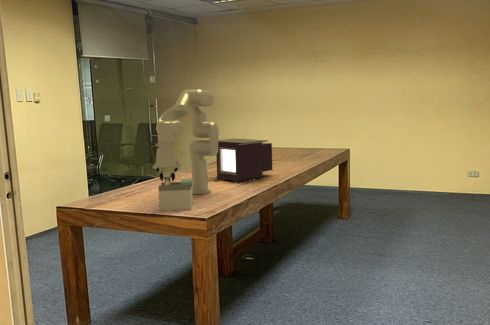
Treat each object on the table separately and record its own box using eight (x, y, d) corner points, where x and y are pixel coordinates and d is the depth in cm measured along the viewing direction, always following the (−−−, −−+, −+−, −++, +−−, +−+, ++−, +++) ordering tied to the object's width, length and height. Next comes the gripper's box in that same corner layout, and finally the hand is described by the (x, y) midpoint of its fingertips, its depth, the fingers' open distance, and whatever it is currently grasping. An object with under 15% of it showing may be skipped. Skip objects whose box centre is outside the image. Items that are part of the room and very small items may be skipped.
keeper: (182, 181, 241) (182, 179, 241) (191, 181, 241) (191, 178, 241) (180, 184, 232) (180, 182, 232) (190, 184, 233) (190, 181, 232)
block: (163, 205, 244) (161, 182, 242) (193, 204, 245) (192, 181, 243) (159, 210, 232) (158, 186, 231) (191, 209, 233) (190, 185, 231)
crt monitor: (244, 184, 299) (243, 143, 296) (210, 178, 324) (209, 140, 321) (280, 177, 323) (279, 139, 320) (246, 172, 348) (245, 137, 345)
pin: (164, 193, 240) (163, 172, 238) (173, 193, 240) (172, 172, 238) (162, 195, 235) (161, 174, 233) (172, 195, 235) (171, 174, 233)
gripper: (147, 146, 230) (149, 182, 232) (181, 145, 231) (183, 181, 233) (150, 145, 237) (152, 180, 240) (183, 144, 238) (184, 179, 240)
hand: (167, 180), depth 236 cm, fingers closed on pin, 5 cm apart
